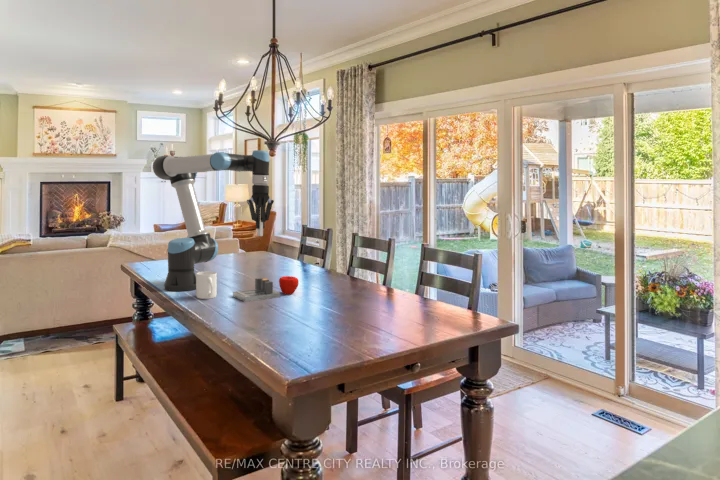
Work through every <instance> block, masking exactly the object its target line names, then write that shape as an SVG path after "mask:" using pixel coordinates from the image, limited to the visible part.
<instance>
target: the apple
mask: <svg viewBox="0 0 720 480" xmlns="http://www.w3.org/2000/svg"><path fill="white" fill-rule="evenodd" d="M278 279H279V280H278V284H279V287H280V288H279V289H280V291H281V293H282V294H283V295H293V294H294V293H295V292H296V291H297V288H298V286H299V279H298V277H296V276H288V275H285V276H281V277H280V278H278Z"/></svg>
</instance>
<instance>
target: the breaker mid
mask: <svg viewBox="0 0 720 480" xmlns="http://www.w3.org/2000/svg"><path fill="white" fill-rule="evenodd" d="M268 281H270V280H269V279H268V278H263V279H262V280H261V291H262V292H264V287H265V282H268Z"/></svg>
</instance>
